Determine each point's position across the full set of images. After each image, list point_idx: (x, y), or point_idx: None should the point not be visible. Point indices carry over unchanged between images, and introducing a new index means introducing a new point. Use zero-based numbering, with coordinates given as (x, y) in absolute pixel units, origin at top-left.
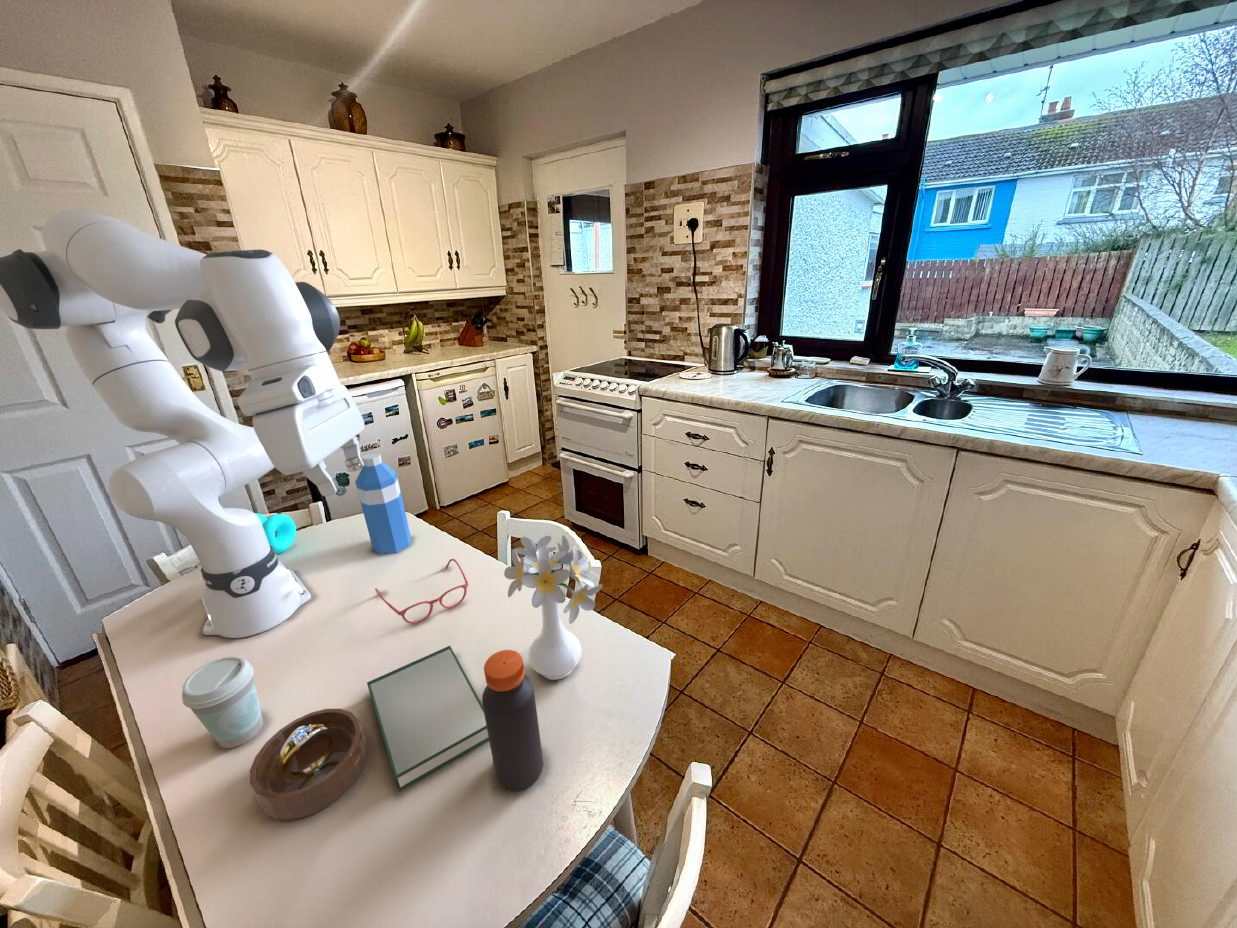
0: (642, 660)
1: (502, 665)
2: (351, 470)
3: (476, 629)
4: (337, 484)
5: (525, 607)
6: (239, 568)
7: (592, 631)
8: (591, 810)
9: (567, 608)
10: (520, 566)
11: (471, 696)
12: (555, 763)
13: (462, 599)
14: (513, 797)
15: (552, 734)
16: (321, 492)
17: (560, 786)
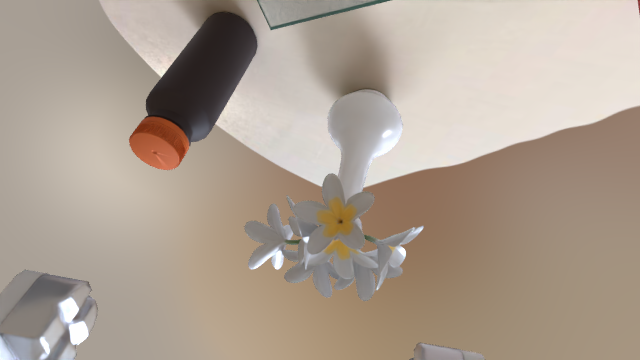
0: None
1: (150, 150)
2: (418, 353)
3: (521, 17)
4: (75, 341)
5: (526, 102)
6: None
7: (413, 159)
8: None
9: (259, 225)
10: (349, 226)
11: (324, 8)
12: None
13: (638, 5)
14: (200, 24)
15: (268, 77)
16: (11, 286)
17: None
